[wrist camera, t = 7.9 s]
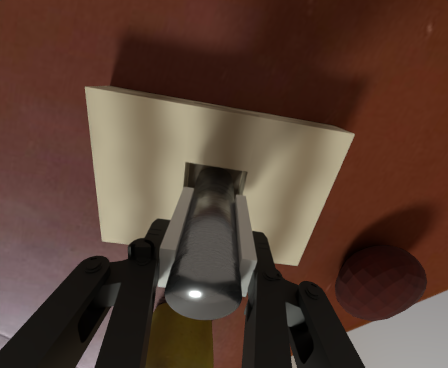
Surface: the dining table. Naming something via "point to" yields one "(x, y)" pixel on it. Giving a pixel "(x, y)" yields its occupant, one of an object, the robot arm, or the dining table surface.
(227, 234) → the pin
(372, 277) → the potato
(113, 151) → the block
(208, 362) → the mug
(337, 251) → the dining table surface
